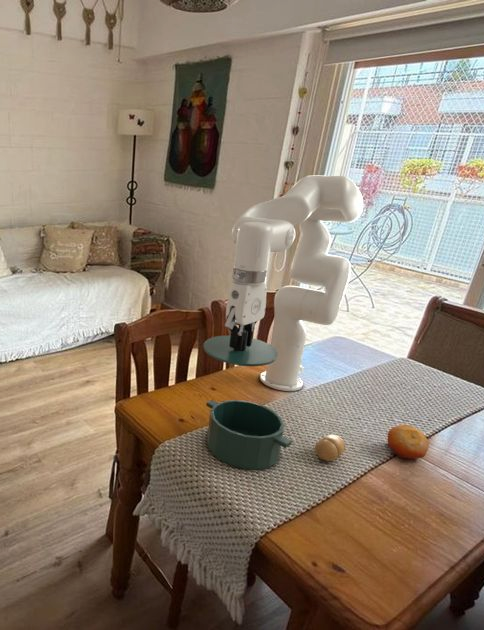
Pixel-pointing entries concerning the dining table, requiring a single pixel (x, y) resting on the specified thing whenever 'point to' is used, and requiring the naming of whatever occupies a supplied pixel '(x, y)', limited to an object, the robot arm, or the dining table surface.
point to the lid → (247, 356)
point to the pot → (245, 434)
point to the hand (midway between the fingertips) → (240, 346)
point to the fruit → (407, 442)
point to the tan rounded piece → (330, 447)
